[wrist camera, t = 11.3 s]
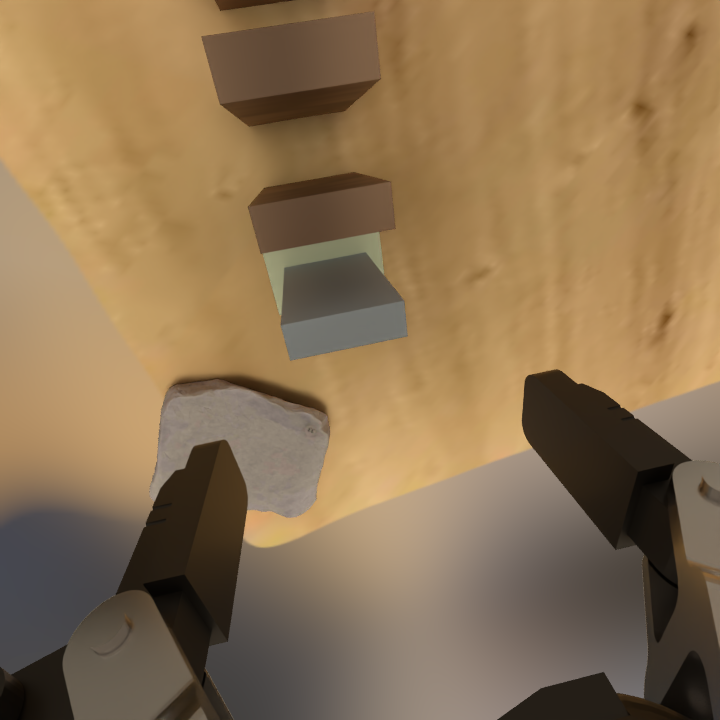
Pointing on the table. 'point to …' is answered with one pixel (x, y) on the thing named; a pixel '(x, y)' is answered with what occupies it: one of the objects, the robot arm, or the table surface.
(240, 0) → the domino
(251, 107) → the domino
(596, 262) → the table surface
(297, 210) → the domino
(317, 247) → the pad
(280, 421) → the stone block
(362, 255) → the domino
